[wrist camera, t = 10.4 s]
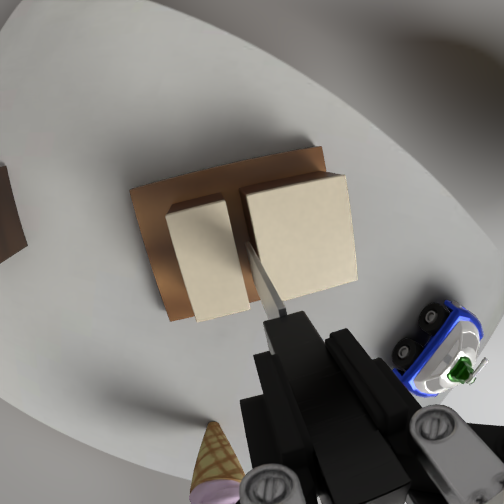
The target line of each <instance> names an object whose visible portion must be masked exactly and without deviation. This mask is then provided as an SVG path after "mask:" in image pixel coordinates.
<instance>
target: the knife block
mask: <svg viewBox="0 0 504 504" xmlns="http://www.w3.org/2000/svg"><path fill="white" fill-rule="evenodd" d="M27 246H28V245H27V242H26V239H25V236H24V232H23V229H22V226H21V222H20V219H19V216H18V212H17V208H16V205H15V201H14V197H13V193H12V189H11V185H10V180H9V176H8V171H7V167H6V166H2V167H0V263H2V262H3V261H5V260H6V259H8V258H9V257H11V256H12V255H14V254H16V253H17V252H19V251H20V250H22V249H23V248H25V247H27Z"/></svg>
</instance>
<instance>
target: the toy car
mask: <svg viewBox="0 0 504 504" xmlns="http://www.w3.org/2000/svg"><path fill="white" fill-rule="evenodd" d="M444 304H445V306H446V307H447V308H448V310H449V311H450V313H449V312H448V311H447V310H445V309H444V308H443V307H442V306H441V305H440V304H438V303H432V304H429V305H428V306H426V307H425V308H424V310H423V311H422V312H421V315H420V317H419V325H420V327H421V328H422V329H423V330H424V331H425V332H426V333H428V334H429V335H431V338H430V339H429V341H428V342H427V343H426V344H425V346H424V347H422V345H420V344H419V343H417V342H415V341H414V340H412V339H409V338H407V339H403V340H401V341H400V342H399V343H398V344H397V345H396V346H395V348H394V350H393V355H392V359H393V362H394V364H395V365H397V366H399V367H401V368H403V369H404V370H406V371H405V372H404V371H402V370H399V369H397V368H394V369H393V370H392V371H393V372H394V374H395V375H396V376H397V377H398V378H399V380H400V381H401V382H402V383H403V385H404V386H405V387H406V388H407V390H408V391H409V392H410V393H412V394H414V395H416V396H420V397H424V398H427V397H436V396H437V395H438V394H439V393H441V392H444V391H447V390H449V389H451V388H453V387H456V386H457V385H458V384H460V383H462V384H464V383H465V382H466V383H467V384H469V385H470V384H472V383H473V382H474V381H475V379H476V375H477V374H478V373H479V372H480V370H481V369H482V368H483V367H484V366H485V365H486V364H487V362H488V361H489V360H488V359H486V358H484V359H483V360H482V361H481V363H480V365H479V366H478V367H477V369H476V370H475V371H474V370H473V369H472V368H473V366H474V364H475V363H476V359H477V355H478V351H479V346H480V340H481V339H482V337H483V335H484V333H483V329H482V326H481V323H480V321H479V320H478V319H477V317H476V316H475V315H474V314H473V313H471V312H470V311H468V310H466V309H465V308H464V307H463V306H461V305H460V304H459V303H458V302H456V301H455V300H453V301H449V300H445V302H444ZM473 371H474V372H473Z"/></svg>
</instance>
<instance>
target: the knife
mask: <svg viewBox="0 0 504 504" xmlns="http://www.w3.org/2000/svg"><path fill="white" fill-rule="evenodd" d="M245 246H246V250H247V255H248V259H249V264H250V268H251V272H252V277H253V281H254V285H255V287H256V289H257V292H258V294H259V297H260V299H261V302H262V304H263V306H264V309H265V311H266V314H267V316H268V319H269V320H267V321H264V322H263V325H264V330H265V334H266V338H267V343H268V347H269V351H270V353H271V355H273V354H277V353H278V356H279V358H280V361H281V363H282V366H283V368H284V371H285V374H286V376H287V379H288V381H289V384H290V386H291V389H292V392H293V394H294V397H295V399H296V402H297V404H298V407H299V409H300V412H301V414H302V417H303V420H304V422H305V425H306V427H307V430H308V432H309V435H310V438H311V441H312V444H313V448H314V452H313V453H312V454H313V461H314V467H315V474H316V481H317V488H318V495H319V497H320V500H321V503H322V504H404V503H405V500H406V497H407V495H408V492H409V489H410V486H411V483H412V479H411V478H410V476H409V475H408V473H407V471H406V470H405V468H404V467H403V465H402V463H401V462H400V460H399V459H398V457H397V455H396V454H395V452H394V451H393V449H392V448H391V446H390V444H389V443H388V441H387V440H386V438H385V436H384V435H383V433H382V432H381V430H380V429H379V428H377V426H376V424H375V423H374V421H373V420H372V418H371V416H370V415H369V413H368V412H367V410H366V408H365V407H364V405H363V404H362V402H361V401H360V399H359V397H358V396H357V394H356V393H355V391H354V390H353V388H352V386H351V385H350V383H349V382H348V380H347V378H346V377H345V375H344V374H343V372H342V371H341V369H340V368H339V366H338V364H337V363H336V361H335V360H334V358H333V357H332V355H331V353H330V352H329V350H328V349H327V347H326V346H325V343H324V341H323V340H322V338H321V337H320V335H319V334H318V332H317V330H316V329H315V327H314V326H313V324H312V323H311V321H310V320H309V318H308V317H307V315H306V314H305V312H304V311H300V312H296V313H293V314H289V315H287V312H286V307H285V305H284V304H283V302H282V300H281V298H280V296H279V295H278V293H277V291H276V289H275V287H274V285H273V284H272V282H271V280H270V278H269V276H268V275H267V273H266V271H265V269H264V267H263V266H262V264H261V262H260V260H259V258H258V257H257V255H256V253H255V251H254V249H253V247H252V246H251V244H250V242H249V241H247V242H245Z"/></svg>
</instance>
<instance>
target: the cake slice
mask: <svg viewBox="0 0 504 504" xmlns="http://www.w3.org/2000/svg"><path fill="white" fill-rule="evenodd" d="M165 217H166V221H167V225H168V228H169V232H170V236H171V239H172V243H173V246H174V250H175V253H176V257H177V260H178V263H179V267H180V270H181V273H182V277H183V280H184V283H185V287H186V290H187V293H188V296H189V299H190V303H191V306H192V309H193V312H194V315H195V318H196V321H197V322H202V321H206V320H210V319H214V318H218V317H223V316H227V315H231V314H235V313H239V312H243V311H247V310H250V309H251V308H250V304H249V300H248V296H247V292H246V288H245V283H244V279H243V275H242V271H241V266H240V262H239V258H238V254H237V249H236V245H235V241H234V237H233V232H232V228H231V224H230V219H229V215H228V211H227V206H226V202H225V200H224V198H223V196H222V193H221V192H219V193H215V194H210V195H206V196H202V197H198V198H194V199H190V200H186V201H182V202H179V203H175V204H172V205H171V207H170V209H169V210H168V212H167V214H166V216H165Z"/></svg>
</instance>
